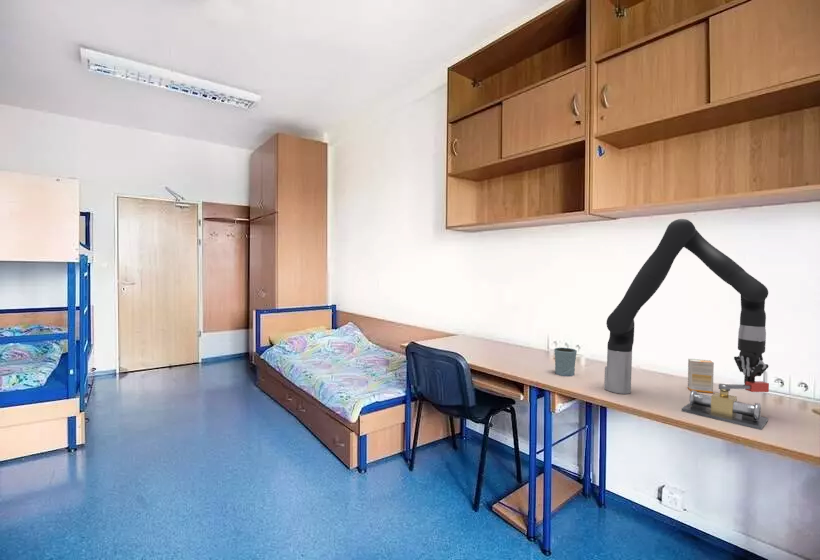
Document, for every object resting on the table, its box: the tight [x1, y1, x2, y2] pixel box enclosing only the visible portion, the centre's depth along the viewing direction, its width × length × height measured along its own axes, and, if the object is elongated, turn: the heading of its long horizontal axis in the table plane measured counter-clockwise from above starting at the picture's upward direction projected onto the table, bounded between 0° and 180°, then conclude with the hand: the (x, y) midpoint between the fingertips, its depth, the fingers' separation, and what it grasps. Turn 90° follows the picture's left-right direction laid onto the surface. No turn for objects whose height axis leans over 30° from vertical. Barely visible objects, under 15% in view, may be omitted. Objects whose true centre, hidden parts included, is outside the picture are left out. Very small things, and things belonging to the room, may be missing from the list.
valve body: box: [681, 389, 769, 431], centre depth 143 cm, size 22×12×9 cm, turn 41°
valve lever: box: [718, 380, 770, 393], centre depth 143 cm, size 16×3×3 cm, turn 91°
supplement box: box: [687, 358, 715, 394], centre depth 173 cm, size 8×5×13 cm, turn 66°
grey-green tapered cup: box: [553, 347, 577, 377], centre depth 197 cm, size 10×10×12 cm
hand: (749, 386), depth 146 cm, fingers closed
